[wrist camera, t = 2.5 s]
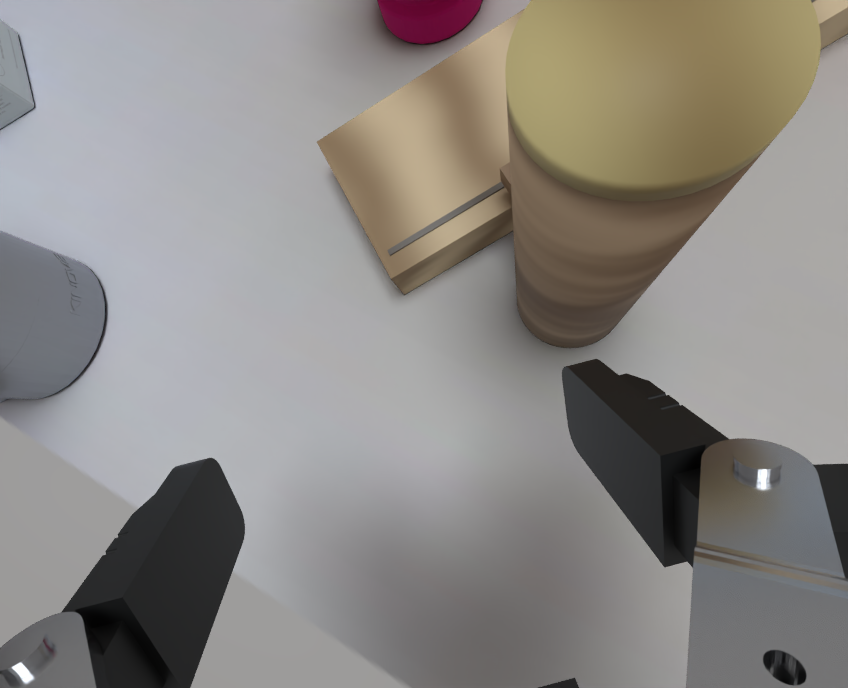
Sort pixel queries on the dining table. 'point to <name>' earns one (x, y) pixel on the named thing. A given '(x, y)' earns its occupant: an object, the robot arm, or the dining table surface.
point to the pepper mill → (427, 18)
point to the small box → (12, 78)
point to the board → (447, 157)
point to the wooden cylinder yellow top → (635, 139)
